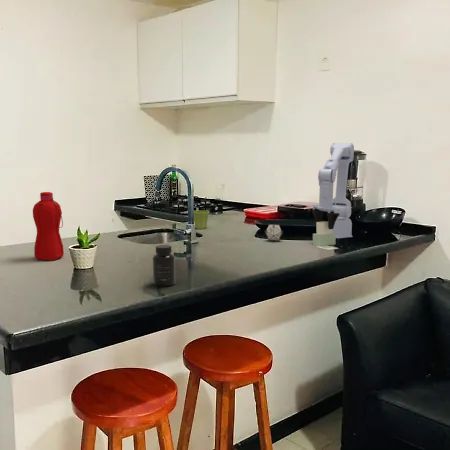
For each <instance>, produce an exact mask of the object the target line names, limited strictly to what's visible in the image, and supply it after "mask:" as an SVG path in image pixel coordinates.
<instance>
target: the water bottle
mask: <svg viewBox="0 0 450 450" xmlns="http://www.w3.org/2000/svg"><path fill="white" fill-rule="evenodd" d="M53 195H54V194H53V192H51V191H43V192H40V194H39V199H40V200H39V201H37V202H36V203H35V204H34V205H33V208H32V218H33V221H34V224H35V228H36V237H35V241H34V247H33V249H34V250H33V252H34V254H33V255H34V258H35V259H37V260H39V261H56V260H58V259H61V258H63V256H64V255H65V253H64V245H63V241H62V237H61V234H60V229H61V228H62V227H63V226H64V224H63V223H64V222H63V216H62V215H63V212H62V209H61V207H62V206H61V205H60V203H58V202H57V201H56V200H54V196H53ZM60 226H61V227H60Z"/></svg>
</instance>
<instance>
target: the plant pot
mask: <svg viewBox="0 0 450 450" xmlns="http://www.w3.org/2000/svg"><path fill="white" fill-rule="evenodd" d="M193 211H194V220H193V223H194V222H195V226H196V228H195V229H197V230H203V229H207V226H208V219H209V218H208V217H209V214H210V211H209V210H193Z"/></svg>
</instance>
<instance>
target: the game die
mask: <svg viewBox="0 0 450 450" xmlns="http://www.w3.org/2000/svg"><path fill="white" fill-rule="evenodd" d="M280 225H281V223H278V224H270V222H269V223H268V226H267V228H266V230H264V234H265V235H266V238H267V239H268V240H267V242H269V241H278V242H280V241H281V240H280V238H281V237H282V235H284V230H282V229H281V226H280Z"/></svg>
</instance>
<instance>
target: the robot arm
mask: <svg viewBox="0 0 450 450" xmlns="http://www.w3.org/2000/svg"><path fill="white" fill-rule="evenodd" d="M329 150H330V151H329V153H330V155H331V156H330V158H328V159H327V160H326V162H325V164H324V166H323V167H322V168H321V169H319V170H318V174H317V177H318V178H317V179H318V180H317V181H318V186H319V194H318V195H319V199H318V202H319V203H318V204H312V211H311V213H312V215H313V217H314V221H315V223H316V222H323V217H324V213H325V212H326V216H327V222H328V228H329V229H331V233H335V239H346V238H353V235H352V228H353V227H352V226H353V223H352V220H351V219H350V217H351V215H352V203H351V201H350V200H349V199H348V198H346V196H347V185H348V176H349V175H348V174H349V166H350V163H353V160H354V153H355V146H354V144H353V142H352V143H351V142H350V143H341V142H338V143H336V142H333V143H331V144H330V148H329ZM336 178H337V179H336ZM335 181H336V189H335V197H334V183H335Z"/></svg>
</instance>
